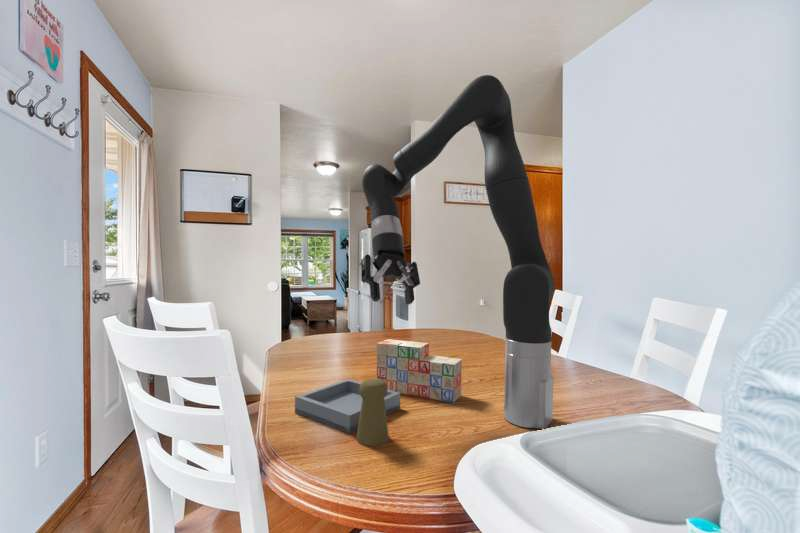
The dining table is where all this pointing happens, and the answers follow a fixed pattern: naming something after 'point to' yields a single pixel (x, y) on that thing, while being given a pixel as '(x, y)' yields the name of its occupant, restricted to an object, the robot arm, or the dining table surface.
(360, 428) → the cork
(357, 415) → the tray
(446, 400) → the stack of blocks
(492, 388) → the dining table surface
